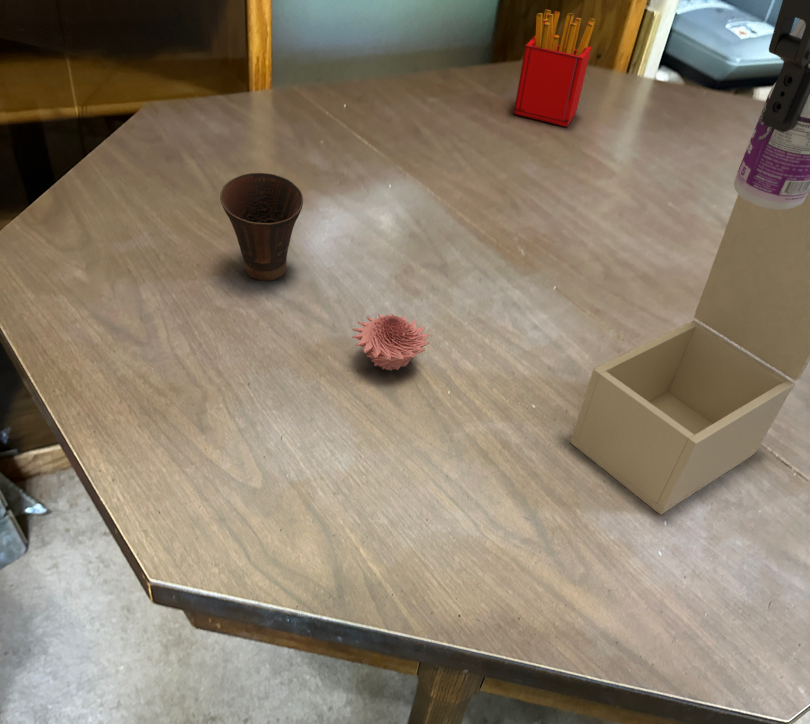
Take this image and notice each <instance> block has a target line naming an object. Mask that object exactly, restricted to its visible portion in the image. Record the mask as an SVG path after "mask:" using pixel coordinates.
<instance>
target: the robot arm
mask: <svg viewBox="0 0 810 724" xmlns="http://www.w3.org/2000/svg"><path fill="white" fill-rule="evenodd" d="M795 19H798V22H797V23H796V25H795V27H794V29H793V26H794V23H795ZM768 52H769V53H770V54H772V55H775V56H776V57H778V58H780V60H781V61H783V63H782V67H781V69H780V72H779V73H778V77H777V79H776V82H775V83H776V84H775V83H774V84H775V86H774V89H773V91H772V94H771V96H770V99H769V101H768V104H767V106H766V109H765V111H764V114H763V117H762V120H763V123H764V124H765V125H767V126H770V127H772V128H774V129H776V130H778V131H781V132H786V131H789V130H792V129H793V128H794V127H795V126H796V124H797V122H798V119H799V117H800V115H801V113H802V110H803V108H804V106H805V104H806V101H807V99H808V97H809V94H810V0H782V2H781V5H780V8H779V12H778V14H777V18H776V21H775V25H774V28H773V32H772V34H771V39H770V42H769V46H768Z"/></svg>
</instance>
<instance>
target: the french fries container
mask: <svg viewBox="0 0 810 724" xmlns="http://www.w3.org/2000/svg"><path fill="white" fill-rule="evenodd" d="M560 15H561V12H560V11H556V10H555V11H553V13H552V10H551V9H544V12H542V13H541V12H538V13H536V15H535V16H536V17H535V18H536V19H535V23H536V24H535V35H534V36H533V37H532V38H531V39H530V40H529V42H527V43H526V44H525V45H524V46H525V47H524V51H523V59H522V63H521V69H520V75H519V80H518V85H517V92H516V98H515V104H514V108H513V115H516V116H521V117H524V118H529V119H533V120H535V121H541V122H546V123H548V124H552V125H557V126H562V127H566V128H567V127H568V126H569V125H570V123H571V122H572V120H573V119H574V118H575V116H576V113H577V110H578V108H579V107H578V106H579V102H580V98H581V94H582V90H583V85H584V81H585V76H586V72H587V68H588V63H589V59H590V55H591V51H592V46H590V45H589V43H590V40H591V37H592V33H593V31H594V28H595V24H596V21H597V20H596V19H595V18H591V17H589V18H588V20H587V21H588V22H587V24H586V27H585V29H584V32H583V34H582V37H581V40H580V43H579V44H578V47H577V48H576V45H577V40H578V36H579V31H580V26H581V22H582V17H576V18H574V16H575V14H574V13H571V12H567V15H566V18H565V23H564V27H563V31H562V35H561V41H560V44H559V40H560V35H559V34H556V31H557V27H558V23H559V18H560ZM573 21H574V22H573Z"/></svg>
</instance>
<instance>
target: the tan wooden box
mask: <svg viewBox="0 0 810 724" xmlns="http://www.w3.org/2000/svg"><path fill="white" fill-rule="evenodd" d="M795 385H796V384H795V382H793V381H792V380H790V379H789V378H787V376H784V374H783V375H782V373H779V372H778V371H776V370H775V369H773V368H771V367H770V366H768V364H766V363H764V362H762V361H760V359H757V358H755V357H754V356H753V355H750V354H749V352H748V353H747V351H744V350H743V349H742V348H741V347H740V348H739V347H738V346H736V345H735V344H733V342H730V341H728V340H727V339H725V337H722V336H720V335H719V334H717V332H714V330H711V329H709V328H708V327H706V325H704V324H702V323H701V322H699V321H696V320H692V321H690V322H687V323H686V324H684V325H682V326H679V327H677V328H675V329H673V330H671V331H669V332H667V333H665V334H663V335H661V336H659V337H657V338H655V339H652V340H650V341H649V342H647V343H645V344H642V345H640V346H638V347H636V348H634V349H632V350H630V351H628V352H626V353H623V354H621V355H619V356H617V357H616V358H614V359H611V360H609V361H608V362H605V363H603V364H601V365H599V366H597V367H594V368H593V369H592V373H591V376H590V379H589V381H588V384H587V388H586V390H585V394H584V397H583V400H582V403H581V406H580V409H579V412H578V416H577V418H576V422H575V424H574V428H573V430H572V434H571V437H570V439H569V443H571V445H573V446H574V447H575V448H576V449H577V450H578V451H580V452H581V453H582V454H584V455H585V456H587V458H589V459H590V460H591V461H593V462H594V463H595V464H597V466H598V467H600V468H601V469H602V470H603V471H605V472H606V473H608V474H609V475H610V476H611V477H613V478H614V479H615V480H616V481H617V482H619V483H620V484H621V485H623V486H624V487H625V488H626V489H627V490H629V491H630V492H631V493H633V494H634V495H635V496H637V498H639V499H640V500H641V501H643V503H645V504H647V506H649V507H650V508H651V509H652V510H654V511H655V512H656V513H657V514H659V515H660V516H662V515H663V514H664V513H666V512H667V511H669V510H670V509H672V508H674V507H676V506H677V505H679V504H680V503H681V502H683V501H685V500H686V499H687V498H689V497H690V496H692V495H693V494H695V493H697V492H698V491H700V490H702V489H703V488H705V487H706V486H708V485H709V484H711V483H712V482H714V481H716V480H717V479H719V478H720V477H721V476H723V475H725V474H726V473H727V472H730V471H731V470H732V469H734V468H735V467H738V466H739V465H740V464H742V463H743V462H745V461H746V460H748V459H749V458H751V457H752V456H754V455H755V454H756V452H757V450H758V449H759V447H760V445H761V443H762V441H763V440H764V438H765V437H766V435H767V433H768V431H769V430H770V428H771V426H772V425H773V423H774V421H775V419H776V418H777V416H778V415H779V413H780V411H781V409H782V408H783V406H784V404H785V403H786V401H787V399H788V397H789V395H790V393H791V392H792V390H793V388H794V387H795Z"/></svg>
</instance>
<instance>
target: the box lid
mask: <svg viewBox="0 0 810 724" xmlns="http://www.w3.org/2000/svg"><path fill="white" fill-rule="evenodd" d="M728 218H729V219H728V221H727V224H726V227H725V230H724V233H723V235H722V238H721V241H720V244H719V246H718V249H717V252H716V254H715V258H714V260H713V262H712V265H711V268H710V271H709V274H708V276H707V280H706V283H705V285H704V288H703V290H702V293H701V296H700V298H699V302H698V304H697V307H696V310H695V313H694V315H693V318H694V319H696V320H697V321H698V322H699V323H701V324H703V325H704V326H707V328H708V327H709V328H710V329H712V331H715V333H718V334H720V335H721V336H723V338H726V339H728V340H729V341H731V343H734V344H736V345H737V346H739V347H740V348H741V349H742V348H743V349H744V350H745V351H746V352H748V353H750V354H752V356H755V357H756V358H758V359H759V360H761V361H763V363H765V364H766V365H769V366H771V367H772V368H774V370H775V369H776V370H777V371H779V372H780V373H781V374H783V375H785V376H786V377H788V378H790V379H791V380H793V381H794V382H796V381H798V380H799V379H800V378H802V376H803V374H804V372H805V370H806V368H807V366H808V365H809V363H810V190H809V192H808V194H807V196H806V198H805V200H804V202H803V203H802V204H800V205H799V206H797V207H794V208H791V209H787V210H775V209H769V208H764V207H760V206H758V205H755V204H753V203H751V202H748V201H746V200H745V199H743V198H742V197H741V196H739V195H738V194H737V197H736V199H735V202H734V206H733V208H732V211H731V213H730V215H729V217H728Z"/></svg>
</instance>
